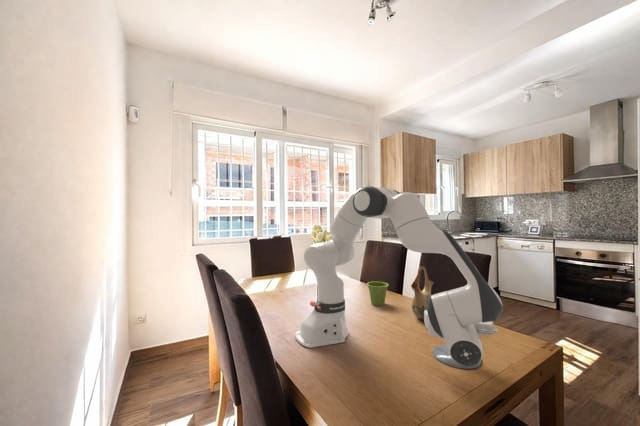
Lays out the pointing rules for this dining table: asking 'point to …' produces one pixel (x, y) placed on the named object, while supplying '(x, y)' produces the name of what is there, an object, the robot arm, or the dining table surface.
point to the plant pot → (377, 292)
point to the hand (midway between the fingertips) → (455, 313)
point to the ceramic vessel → (421, 295)
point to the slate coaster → (449, 358)
